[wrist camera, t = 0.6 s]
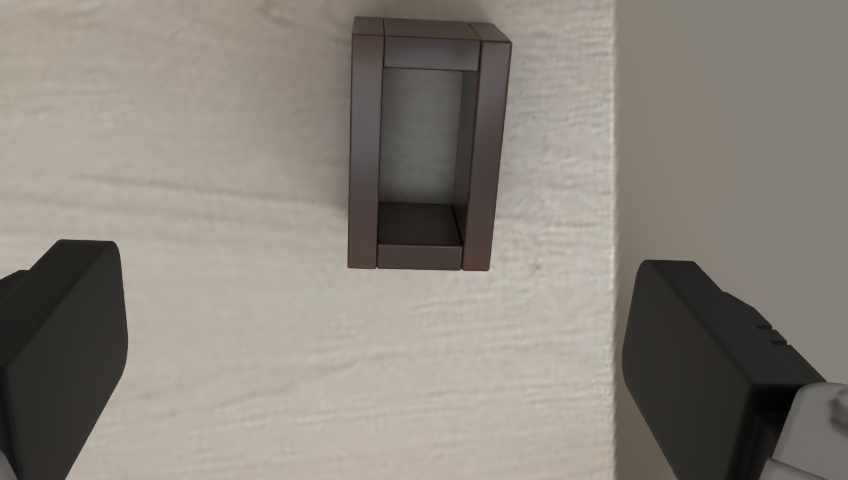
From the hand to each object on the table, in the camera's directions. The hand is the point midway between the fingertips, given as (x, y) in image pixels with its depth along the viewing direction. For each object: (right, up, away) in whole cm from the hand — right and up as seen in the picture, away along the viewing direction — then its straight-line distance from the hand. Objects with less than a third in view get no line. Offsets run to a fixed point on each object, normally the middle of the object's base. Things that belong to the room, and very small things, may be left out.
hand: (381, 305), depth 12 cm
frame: (0, +5, +17) cm, 18 cm away
